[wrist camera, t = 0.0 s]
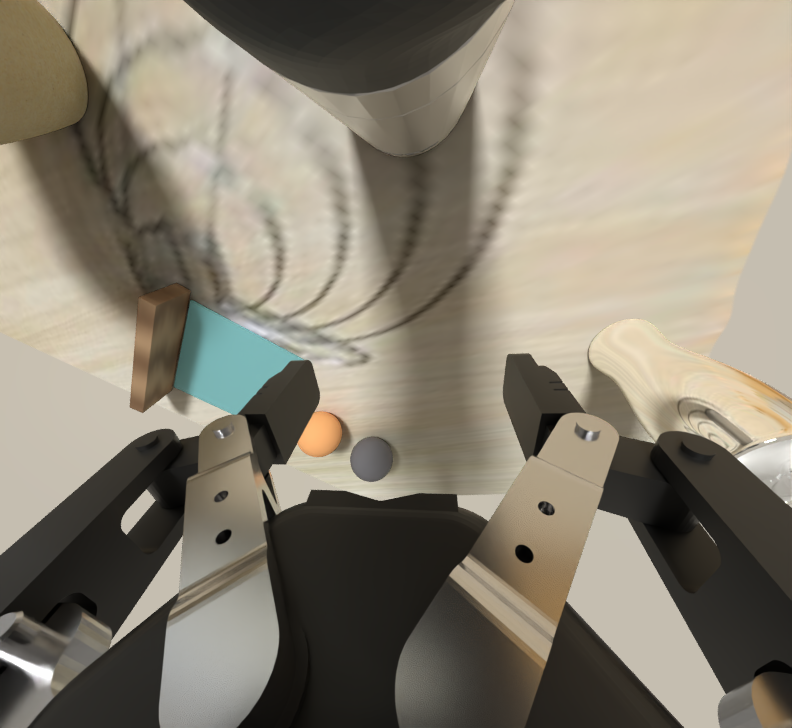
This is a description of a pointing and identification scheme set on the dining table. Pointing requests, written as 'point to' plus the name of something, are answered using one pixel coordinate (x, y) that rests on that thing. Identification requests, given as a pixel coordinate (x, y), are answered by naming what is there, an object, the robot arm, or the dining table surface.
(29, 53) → the plant pot
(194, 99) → the dining table surface
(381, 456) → the charcoal ball
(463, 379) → the dining table surface
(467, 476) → the dining table surface
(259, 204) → the dining table surface
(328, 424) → the terracotta ball
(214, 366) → the teal mark
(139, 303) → the walnut stopper
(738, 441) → the beer glass
